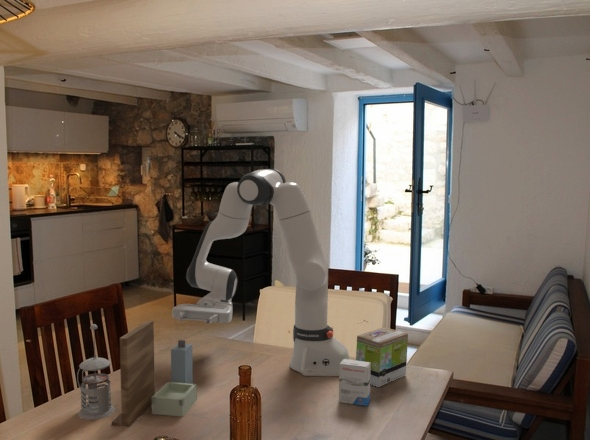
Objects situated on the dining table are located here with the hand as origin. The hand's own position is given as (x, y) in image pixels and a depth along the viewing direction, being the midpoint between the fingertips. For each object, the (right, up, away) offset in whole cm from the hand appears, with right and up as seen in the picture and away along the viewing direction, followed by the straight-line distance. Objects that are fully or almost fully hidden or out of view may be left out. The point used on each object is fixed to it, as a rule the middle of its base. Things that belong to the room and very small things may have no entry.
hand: (194, 319), depth 182 cm
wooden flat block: (-12, -21, -27) cm, 36 cm away
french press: (-23, -21, -26) cm, 41 cm away
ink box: (+50, -21, -18) cm, 57 cm away
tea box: (+61, -19, -1) cm, 64 cm away
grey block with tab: (-2, -19, -10) cm, 22 cm away
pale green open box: (-1, -21, -23) cm, 31 cm away
